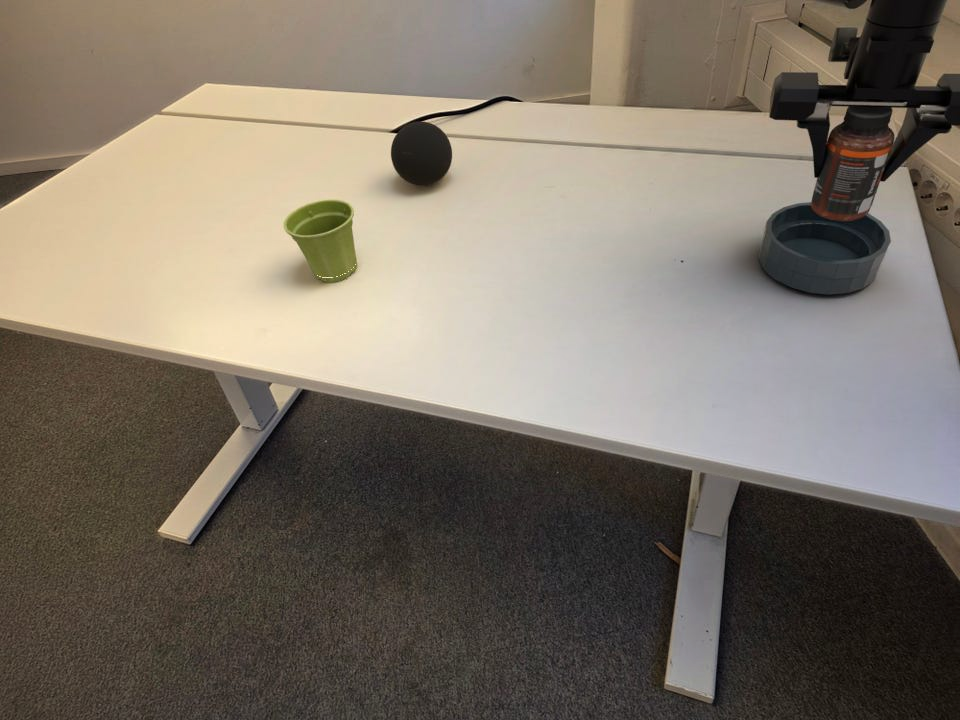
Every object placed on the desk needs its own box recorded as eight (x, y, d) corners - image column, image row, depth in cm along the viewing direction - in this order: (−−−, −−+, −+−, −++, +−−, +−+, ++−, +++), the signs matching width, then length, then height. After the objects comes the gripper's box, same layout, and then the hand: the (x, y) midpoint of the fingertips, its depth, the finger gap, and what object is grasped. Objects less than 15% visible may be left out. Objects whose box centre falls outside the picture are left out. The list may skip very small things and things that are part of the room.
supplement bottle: (879, 220, 65) (917, 117, 58) (821, 226, 66) (851, 124, 58) (855, 193, 70) (887, 93, 62) (801, 199, 70) (826, 100, 63)
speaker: (402, 202, 98) (389, 143, 92) (394, 175, 106) (381, 118, 99) (461, 189, 99) (452, 129, 92) (449, 163, 107) (440, 106, 100)
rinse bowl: (870, 240, 78) (884, 206, 74) (880, 305, 69) (896, 269, 66) (759, 231, 82) (767, 198, 78) (755, 290, 73) (764, 256, 70)
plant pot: (302, 260, 89) (282, 208, 83) (364, 245, 90) (349, 192, 84) (305, 297, 83) (284, 243, 77) (373, 280, 84) (357, 225, 78)
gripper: (1006, -11, 57) (938, 148, 68) (788, -5, 63) (757, 140, 73) (1038, 27, 50) (956, 198, 60) (789, 30, 55) (754, 186, 66)
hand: (848, 177), depth 65 cm, fingers closed on supplement bottle, 6 cm apart
